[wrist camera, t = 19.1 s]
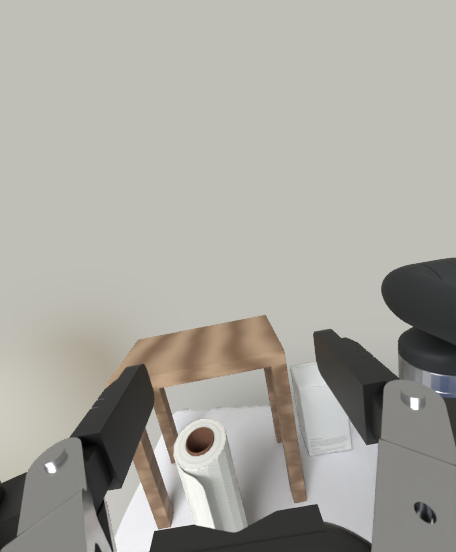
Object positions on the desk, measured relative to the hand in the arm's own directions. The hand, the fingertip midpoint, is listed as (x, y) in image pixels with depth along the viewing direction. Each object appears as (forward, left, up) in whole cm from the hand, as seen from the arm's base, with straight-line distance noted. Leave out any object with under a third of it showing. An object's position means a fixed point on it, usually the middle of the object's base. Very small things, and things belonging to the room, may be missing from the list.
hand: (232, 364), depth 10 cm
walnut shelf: (+6, -23, -38) cm, 45 cm away
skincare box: (-13, -26, -38) cm, 48 cm away
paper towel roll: (+6, -11, -38) cm, 40 cm away
